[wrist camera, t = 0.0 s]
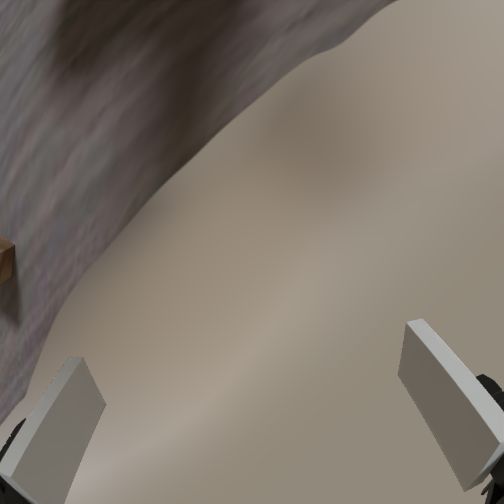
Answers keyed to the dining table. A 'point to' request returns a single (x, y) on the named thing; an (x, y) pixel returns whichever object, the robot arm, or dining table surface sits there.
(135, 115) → the dining table surface
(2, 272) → the cabinet block
